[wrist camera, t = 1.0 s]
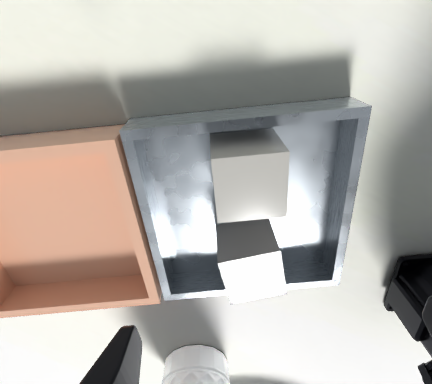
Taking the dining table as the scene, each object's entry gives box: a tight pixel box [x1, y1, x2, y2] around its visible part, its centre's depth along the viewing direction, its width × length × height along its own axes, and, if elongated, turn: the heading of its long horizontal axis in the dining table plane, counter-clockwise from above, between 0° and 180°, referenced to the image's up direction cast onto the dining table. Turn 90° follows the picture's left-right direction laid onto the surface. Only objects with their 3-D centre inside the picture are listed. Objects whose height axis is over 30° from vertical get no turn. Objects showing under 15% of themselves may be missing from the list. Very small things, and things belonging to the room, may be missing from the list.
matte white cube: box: [210, 128, 290, 223], centre depth 17 cm, size 4×4×4 cm
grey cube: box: [216, 219, 287, 305], centre depth 20 cm, size 4×4×4 cm
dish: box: [0, 124, 162, 318], centre depth 19 cm, size 13×13×3 cm
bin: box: [119, 97, 372, 301], centre depth 19 cm, size 14×14×2 cm
